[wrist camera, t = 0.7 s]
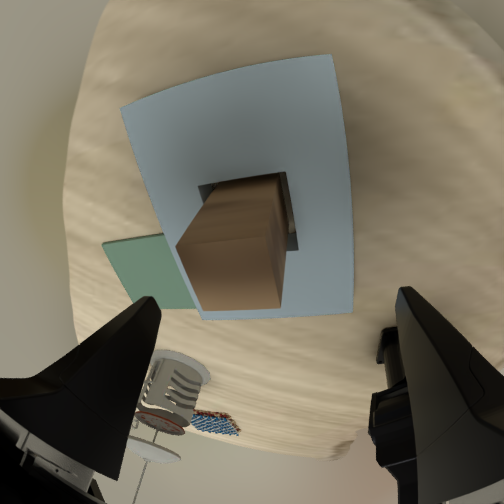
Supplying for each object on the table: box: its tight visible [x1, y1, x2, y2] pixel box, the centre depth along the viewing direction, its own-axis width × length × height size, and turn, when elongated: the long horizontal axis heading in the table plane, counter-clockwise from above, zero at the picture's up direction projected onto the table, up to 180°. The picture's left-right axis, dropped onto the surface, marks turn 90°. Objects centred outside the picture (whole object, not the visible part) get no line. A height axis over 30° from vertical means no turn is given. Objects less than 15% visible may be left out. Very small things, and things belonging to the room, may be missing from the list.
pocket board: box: [120, 54, 354, 320], centre depth 20 cm, size 20×14×2 cm
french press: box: [126, 350, 210, 504], centre depth 28 cm, size 10×12×25 cm
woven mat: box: [191, 409, 241, 436], centre depth 49 cm, size 10×11×2 cm
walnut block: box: [175, 172, 289, 311], centre depth 18 cm, size 4×4×9 cm
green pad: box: [102, 233, 197, 309], centre depth 27 cm, size 9×9×1 cm
